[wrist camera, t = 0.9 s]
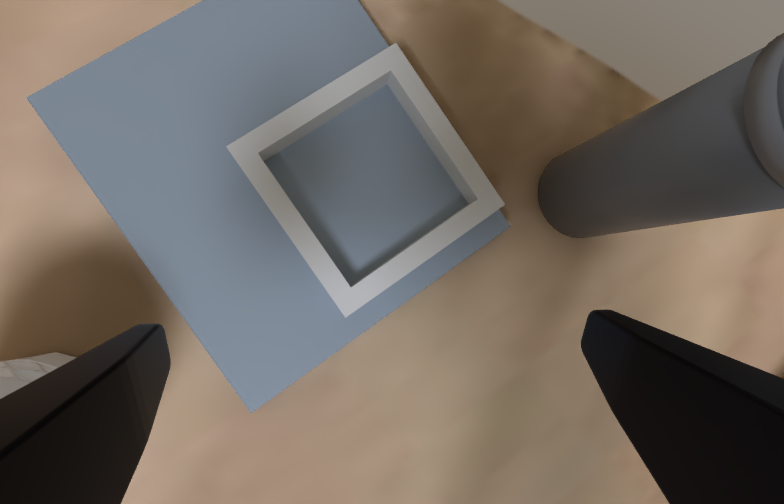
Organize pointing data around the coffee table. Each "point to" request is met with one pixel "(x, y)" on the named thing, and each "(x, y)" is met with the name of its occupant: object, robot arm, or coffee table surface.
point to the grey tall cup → (679, 157)
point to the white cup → (28, 370)
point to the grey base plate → (274, 176)
